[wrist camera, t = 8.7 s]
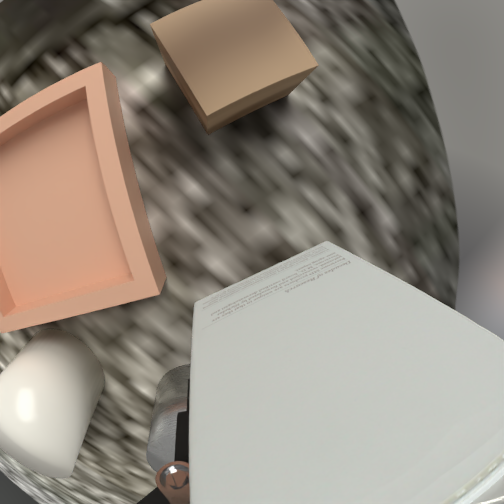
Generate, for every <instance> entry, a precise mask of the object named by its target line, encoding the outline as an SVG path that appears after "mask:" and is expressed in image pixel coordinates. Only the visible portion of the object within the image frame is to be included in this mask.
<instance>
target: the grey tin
mask: <svg viewBox="0 0 504 504" xmlns="http://www.w3.org/2000/svg"><path fill="white" fill-rule="evenodd" d="M190 366H191V364H187V365H183V366H179V367H176V368H174V369H172V370H170V371H169V372H167V373H166V374H165V375H164V376H163V377H162V378H161V380H160V382H159V384H158V387H157V392H156V398H155V403H154V409H153V415H152V421H151V427H150V433H149V440H148V446H147V453H146V456H147V461H148V463H149V465H150V466H151V467H152V468H153V469H154V470H155V471H156V472H158V471H159V470H160V468H162V467H163V466H164V465H166V464H168V463H170V462H174V457H175V439H176V423H177V414H178V412H183V411H187V390H188V379H190Z"/></svg>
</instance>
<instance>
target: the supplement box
mask: <svg viewBox="0 0 504 504" xmlns="http://www.w3.org/2000/svg"><path fill="white" fill-rule="evenodd" d="M503 475H504V340H502V339H500V338H499V337H498V336H496V335H495V334H493V333H491V332H490V331H488V330H487V329H485V328H483V327H481V326H480V325H478V324H476V323H474V322H473V321H472V320H470V319H468V318H467V317H465V316H463V315H462V314H460V313H458V312H457V311H455V310H453V309H451V308H450V307H448V306H446V305H445V304H443V303H441V302H439V301H438V300H436V299H434V298H432V297H431V296H429V295H427V294H425V293H424V292H422V291H420V290H418V289H417V288H415V287H413V286H411V285H410V284H408V283H406V282H404V281H402V280H401V279H399V278H397V277H395V276H393V275H391V274H389V273H388V272H386V271H384V270H382V269H380V268H378V267H376V266H374V265H373V264H371V263H369V262H367V261H365V260H363V259H361V258H359V257H357V256H356V255H354V254H352V253H350V252H348V251H346V250H344V249H342V248H340V247H338V246H336V245H334V244H332V243H330V242H329V241H325V242H323V243H321V244H319V245H317V246H315V247H313V248H310V249H308V250H306V251H304V252H302V253H300V254H297V255H295V256H294V257H291V258H289V259H287V260H285V261H283V262H280V263H278V264H276V265H274V266H272V267H270V268H268V269H266V270H263V271H261V272H259V273H257V274H255V275H252V276H250V277H248V278H246V279H244V280H242V281H240V282H237V283H235V284H233V285H231V286H229V287H227V288H224V289H222V290H220V291H218V292H215V293H213V294H211V295H209V296H207V297H205V298H203V299H201V300H198V301H197V302H195V304H194V314H193V326H192V344H191V366H190V395H189V487H190V504H470V503H471V502H473V501H474V500H475V499H476V498H478V497H479V496H480V495H481V494H483V493H484V492H485V491H486V490H487V489H489V488H490V487H491V486H492V485H493V484H494V483H495V482H497V481H498V480H499V479H500V478H501V477H502V476H503Z"/></svg>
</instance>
